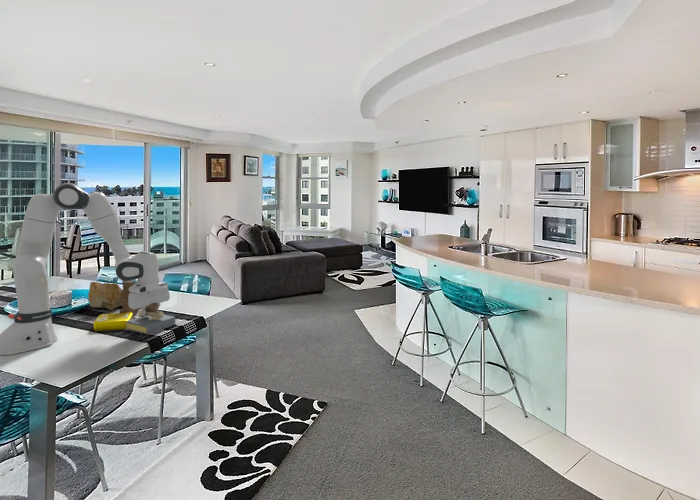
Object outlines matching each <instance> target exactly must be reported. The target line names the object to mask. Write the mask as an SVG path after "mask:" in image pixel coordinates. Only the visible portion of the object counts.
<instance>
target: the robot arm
mask: <svg viewBox="0 0 700 500" xmlns="http://www.w3.org/2000/svg"><path fill="white" fill-rule="evenodd" d="M61 210H68V211H69V210H82V211H83V212H84V213H85V216H86V217H87V220H88V221H89V224H90V225H91V227H92V228H93V230H94V232H95V233H96V234H97V235H98V236H99V237H101V239H103V240H104V241H105V242H106V243H107V245H108V246H109V248H110V250H111V252H112V255H113V256H114V260H115V275H116V277H117V278H118V279H120V280H121V281H123V282H125V281H135V280H138V282H135V284H134V285H133V286H131V287H129V292H131V293H130V294H129V297H128V305H129V307H130V308H131V309H137V310H141V311H142V315H143V316H146V315H148V314H147V313H148V312H147V311H145V307H146V306H149V305H150V304H152V303H157V310H158V311H159V309H160V306H161V303H164V302H167V301H169V300H170V297H171V296H170V290H169V284H168V283H167V282H166V281H165V282H164V281H163V282H160V277H159V269H160V267H159V259H158V256H157V255H156V253H154V252H151V251H146V250H144V251H143V250H142V251H139V252H138V253H136V254H134V255H131V254H130V252H129V250H128V247H126V244H125V242H124V240H123V238H122V233H121V225H120V220H119V217H118V215H117V212H116V210H115V208H114V206H113V205H112V203H111V201H110V200H109V198H108V196H106V195H105V194H104V193H103V192H99V191H98V192H97V191H96V192H91V193H87V192H86V191H84V190H83V188H81V186H79V185H78V184H76V183H71V182H65V183H62V184H60V185H58V186H57V187H56V189H54V191H53V192H52V193H51V194H48V193H37V194H34V195H32V197H30V200H29V202H28V204H27V207H26V210H25V212H24V217H23V221H22V226H21V230H20V235H19V240H18V246H17V251H16V254H15V255H16V256H15V259H14V262H13V264H12V273H13V274H12V275H13V278H14V279H13V281H14V287H15V293H16V300H17V302H16V303H17V313H16V314H14V313H9V314H8V315H7V317H8V318H9V319H11V320H13V322H12V323H11V324H10V325H9V326H8V327H7V328H5V329H4V330H3V331H2V332H0V356H12V355H13V356H14V355H16V354H21V353H24V352H25V353H26V352H29V351H33V350H39V349H42V348H47V347H50V346H52V345H53V343H55V342H57V341H58V337H57V334H56V333H55V329H54V326H53V321H52V320H53V313H52V307H51V304H50V303H51V302H50V291H49V283H48V272H47V271H48V270H47V263H48V259H49V254H50V249H51V246H52V242H53V238H54V234H55V228H56V223H57V220H58V219H57V218H58V215H59V213H60V211H61Z"/></svg>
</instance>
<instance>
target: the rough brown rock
mask: <svg viewBox="0 0 700 500" xmlns="http://www.w3.org/2000/svg"><path fill="white" fill-rule="evenodd" d="M87 295H88V299H87V300H88V303H89V302H90V304H89V306H90V307H91V308H94V309H96V308H99V309H102V308H103V309H105V308H106V309H108V310H109V311H113V310H114V309H117V308H118V307H123V304H124V298H123V288H121V287H120V285H119V284H117V283H115V282H113V283H111V282H110V283H109V282H104V283H102V282H98V281H91V282H90V284H89V291H88V294H87Z"/></svg>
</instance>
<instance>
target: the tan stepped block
mask: <svg viewBox="0 0 700 500" xmlns="http://www.w3.org/2000/svg"><path fill="white" fill-rule="evenodd" d="M137 314H138V318H139V317H145V316H143V315H142V311H141V310H140V309H137ZM147 314H148V315H146V316H151V319H152V320H157V319H161V318H163V314H164V311H162V310H159V309H158V310H157V311H155V312H152V313H151V312H148V313H147Z"/></svg>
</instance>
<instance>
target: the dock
mask: <svg viewBox="0 0 700 500" xmlns="http://www.w3.org/2000/svg"><path fill="white" fill-rule="evenodd" d="M173 325H174V326H176V316H173V315H167V314H164V313H163V318H161V319H157V320H152V319H151V316H145V317H139V316H138V317H135V318H133V319H132V320H128V321H126V328H127V329H126V330H128V331H131V332H135V331H136V332H135V333H139V332H140V334H143V333H144V334H145V335H149V334H152V333H155V331H156V332H158V330H159V331H162V330H164V329H167V328H171V327H173ZM161 329H162V330H161Z"/></svg>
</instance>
